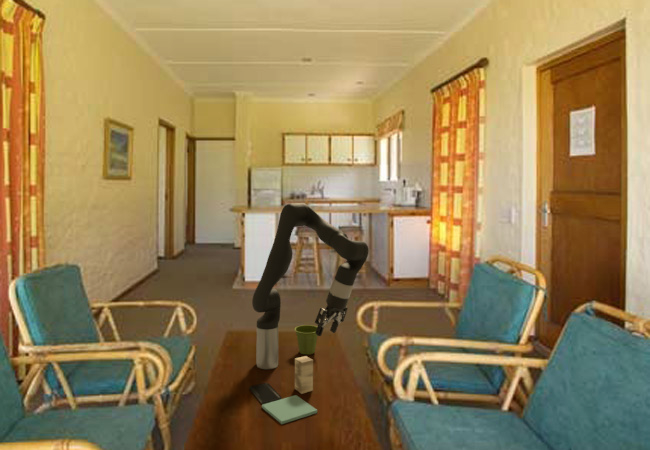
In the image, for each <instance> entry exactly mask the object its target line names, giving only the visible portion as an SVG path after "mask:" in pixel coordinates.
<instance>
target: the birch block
mask: <svg viewBox="0 0 650 450" xmlns="http://www.w3.org/2000/svg"><path fill="white" fill-rule="evenodd" d="M294 390H296V391H297V392H298V393H300V394H301V395H302V394H306V393H309V392H313V391H314V359H312V358H310V357H308V355H304V356H301V357H296V358H294Z"/></svg>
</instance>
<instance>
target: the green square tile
mask: <svg viewBox="0 0 650 450" xmlns="http://www.w3.org/2000/svg"><path fill="white" fill-rule="evenodd" d="M261 409H263V410H264V411H265V412H266V413H267V414H268V415H270V416H271V417H272V418H273V419H275V420H276V421H277V422H278V423H279V424H280V425H284V424H287V423H291V422H293V421H296V420H299V419H302V418H306V417H309V416H311V415H316V414H317V413H318V409H317V408H315V407H314V406H313V405H311V404H310V403H308V402H307V401H305V400H304V399H302V398H301V397H300V396H298V395H297V394H295V395H291V396H288V397H283V398H281V399H280V400H277V401H271V402H270V403H267V404H262V405H261Z"/></svg>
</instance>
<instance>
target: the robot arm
mask: <svg viewBox="0 0 650 450" xmlns="http://www.w3.org/2000/svg"><path fill="white" fill-rule="evenodd" d="M280 212H281V213H280V216H279V220H278V224H277V230H276V233H275V236H274V241H273V243H272V247H271V249H270V252H269V254H268V257H267V260H266V261H267V262H266V263H265V267H264V269H263V272H262V276H261V277H260V280H259V282H258V284H257V286H256V288H255V290H254V293H253V296H252V308H253V310H254V311H255V312H257V313H263V315H262V316H260V317H259V318H258V319H257V320H256V342H255V343H256V345H255V348H256V350H255V352H256V353H255V355H256V357H255V359H256V360H255V361H256V362H255V363H256V367H257V368H259V369H262V370H273V369H276V368H277V367H278V366H279V322H280V319H281V300H282V299H281V295H280V293H279V291H278V290H277V289H276V288H274V286H275V285H277V284H278V282H279V281H280V280H281V279H282V278H283V277H284V276H285V275H286V273H287V272H288V270H289V268H290V265H291V262H292V260H293V254H294V253H293V249H292V245H291V236H292V233H293V231H294V229H295V228H296V227H303V226H304V227H307V228H309V229H312V230H313V231H314V232H315V233H316V236H318V238H319V239H320V241H321V242H323V243H324V244H325V245H327V246H328V247H329V248H331V249H333V250H334V252H336V253H337V254H338V256H340V257H341V258H342V259H344V260H346V261H345V262H344V263H342V264H339V266H338V267H337V270H336V274H335V275H334V278H333V281H332V282H331V285H330V288H329V290H328V293H327V297H326V300H325V303H326V304H327V305H326V307H325V308H323V307H321V308H319V310H318V313H317V315H316V318H315V321H314V324H316V325H317V330H316V335H318V336H317V337H321V336H322V334H323V331H324V329H325V326H326V325H327V324H329V323H330V322H331V321H332V323H331V327H330V329H329V331H330V332H332V333H333V334H336V332H337V330H338V327H339V325H340V324H341V323H343V322H344V321H345V318H346V315H347V312H348V302H349V300H350V296H351V294H352V292H353V291H352V290H353V288H354V283H355V281H356V278H357V275H358V273H359V272H360V270H362V267H363V266H364V264H365V263H366V261H367V259H368V256H369V251H370V250H369V246H368V244H367V243H366V242H365V241H362V240H352V239H350V238H348V235H347V234H346V233H345V232H343V231H342V230H341V229H339V228H338V227H336V226H334V225H332V224H331V223H329V222H328V221H326V220H325V219H324V218H323V217H322V216H320V214H319V213H317V212H316V211H315V210H314V209H313V208H312V207H310V205H308V204H306V203H304V202H300V203H299V202H294V203H292V202H291V203H287V204H285V205H284V206H283V208H282V210H281V211H280Z"/></svg>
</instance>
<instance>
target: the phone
mask: <svg viewBox="0 0 650 450" xmlns="http://www.w3.org/2000/svg"><path fill="white" fill-rule="evenodd" d="M248 388H249V389H248V390H249V391H250V392H251V393H252V394H253V395H254V397H255V398H256V399H257V401H258V402H259V403H260V404H262V405H263V404H267V403H270V402H273V401H277V400H280V399H282V396H281V395H280V394H279V393H278V392H277V391H276V390H275V389H274V388H273V387H272V386H271V385H270V383H268V382H264V383H259V384H254V385H250V386H249V387H248Z"/></svg>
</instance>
